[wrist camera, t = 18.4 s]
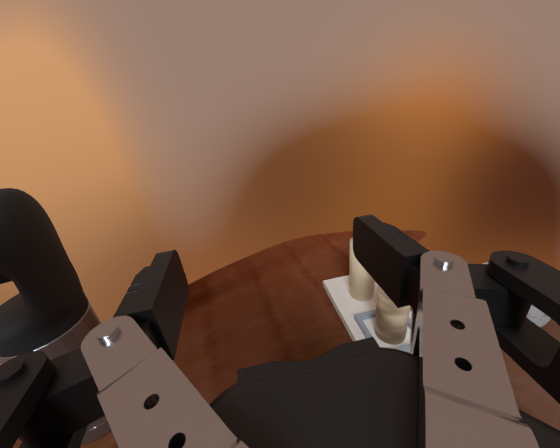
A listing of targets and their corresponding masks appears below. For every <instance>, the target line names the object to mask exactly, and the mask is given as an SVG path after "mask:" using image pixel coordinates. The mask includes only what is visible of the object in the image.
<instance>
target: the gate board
mask: <svg viewBox="0 0 560 448" xmlns="http://www.w3.org/2000/svg"><path fill="white" fill-rule="evenodd" d="M323 287H324V288H325V290H326V292H327V294H328V296H329V298H330V300H331V302H332V303H333V305H334V307H335V309H336V311H337V313H338V315H339V316H340V318H341V320H342V322H343V324H344V326H345V328H346V330H347V331H348V333H349V335H350V337H351V339H352V341H357V340H361V339H365V338H369V337H374V339H375V340H376V342H377V343H378V345H379V346H380V347H385V348H393V349H398V350H402V351H405V352H408V353H409V351H410V331H411V314H412V312H411V311H410V313H409V320H408V326H407V332H406V338H405V341H404V342H403V343H401V344H398V345H390V344H387V343H384V342H383V341H381V340H380V339H379V338H378V337H377V336H376V334H375V330H374V329H375V317H376V304H377V292H378V284H377V283H376V282H375V281H374V279H373V278H372V277H371V276H370V275H369V274H368V272H367V271H366V270H365V269H364V268H363V266H362V265H361V264H360V263H359V262H358V261H357V259H356V258H355V255H354V252H353V238H351V239H350V265H349V275H347V276H343V277H338V278H333V279H329V280H324V281H323Z"/></svg>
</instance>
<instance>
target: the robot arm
mask: <svg viewBox="0 0 560 448" xmlns="http://www.w3.org/2000/svg"><path fill="white" fill-rule="evenodd" d="M353 252H354V255H355V258H356V259H357V261H358V262H359V263H360V264H361V265H362V266H363V268H364V269H365V270H366V271H367V272H368V274H369V275H370V276H371V277H372V278H373V279H374V281H375V282H376V283H377V284H378V285H379V286H380V288H381V289H382V290H383V291H384V292H385V294H386V295H387V296H388V297H389V298H390V299H391V301H392V302H393V303H394V304H395V305H396V307H397V308H401V307H405V306H409V305H410V306H411V307H412V314H411V331H410V351H409V353H408V352H405V351H402V350H398V349H393V348H385V347H380V346H379V345H378V343H377V342H376V340H375V339H374V337H369V338H365V339H361V340H357V341H353V342H349V343H345V344H341V345H339V346H338V347H336V348H334V349H332V350H330V351H328V352H327V353H325V354H323V355H321V356H319V357H318V358H316V359H314V360H311V361H272V362H268V363H264V364H260V365H256V366H252V367H248V368H244V369H240V370H238V383H236V384H235V385H233V386H231V387H230V388H228V389H227V390H225V391H224V392H223V393H222V394H220V395H219V396H218V397H217V398H216V399H215V400H214V401H213V402H212V403H211V404H210V405H209V404H208V403H207V402H206V401H205V399H204V398H203V397H202V396H201V395H200V393H199V392H198V391H197V390H196V389H195V387H194V386H193V385H192V384H191V383H190V381H189V380H188V379H187V378H186V376H185V375H184V374H183V373H182V372H181V370H180V369H179V368H178V367H177V366H176V364H175V363H174V362H173V361H172V360H174V358H175V353H176V348H177V343H178V339H179V334H180V329H181V324H182V320H183V315H184V310H185V305H186V301H187V296H188V283H187V279H186V276H185V273H184V270H183V267H182V264H181V261H180V258H179V255H178V253H177V251H176V250H172V251H167V252H162V253H157V254H156V255H155V257H154V259H153V261H152V263H151V266H149V267H145V268H144V269H143V270H142V271H140V273H138V274H137V275H136V276H135V278H134V280H133V282H132V283H131V286H130V287H129V289H128V291H127V294H125V296H124V298H123V300H122V302H121V304H120V306H119V307H118V309H117V311H116V313H115V315H114V317H113V318H111V319H109V320H106V321H104V322H102V323H101V322H100V320H99V318H98V317H97V315H96V313H95V312H94V310H93V308H92V307H91V305H90V303H89V301H88V299H87V298H86V296H85V294H84V292H83V289H82V286H81V284H80V281H79V278H78V275H77V273H76V271H75V269H74V267H73V265H72V263H71V262H70V260H69V258H68V256H67V254H66V251H65V250H64V248H63V245H62V243H61V241H60V239H59V237H58V235H57V232H56V230H55V228H54V226H53V224H52V222H51V220H50V218H49V217H48V215H47V213H46V212H45V210H44V209H43V208H42V206H41V205H40V204H39V203H38V202H37V201H36V200H35V199H34V198H33V197H32V196H30V195H29V194H27V193H25V192H24V191H21V190H18V189H12V188H5V189H0V284H2V283H6V282H9V281H13V282H14V284H15V285H16V287H17V288H18V290H19V292H20V293H19V294H18V295H16V296H14V297H13V298H11V299H9V300H8V301H6V302H5V303H3V304H2V305H1V306H0V364H1V365H0V448H12V447H13V446H14V444H15V442H16V440H17V439H18V438H19V439H20V440H21V441H22V443H21V445H20V447H19V448H80V445H81V443H86V442H90V441H93V440H95V439H97V438H99V437H101V436H103V435H104V434H106V433H107V432H109V431H110V430H112V432H113V435H114V437H115V439H116V442H117V444H118V446H119V448H560V431H559V430H557V429H555V428H553V427H551V426H549V425H547V424H546V423H544V422H542V421H540V420H538V419H536V418H534V417H532V416H530V415H529V414H527V413H525V412H523V411H521V410H519V409H518V407H517V404H516V401H515V397H514V394H513V390H512V387H511V384H510V380H509V377H508V373H507V370H506V366H505V363H504V360H503V356H502V353H501V349H502V350H503V351H504V352H506V353H507V354H508V355H509V356H510V357H511V358H512V359H513V360H514V361H515V362H516V363H517V364H518V365H519V366H520V367H521V368H522V369H523V370H524V371H526V372H527V373H528V374H529V375H530V376H531V377H532V378H533V379H534V380H535V381H536V382H537V383H538V384H539V385H540V386H541V387H542V388H543V389H545V390H546V391H547V392H548V393H549V394H550V395H551V396H552V397H553V398H554V399H555V400H556V401H557V402H558V403H559V404H560V342H559V341H557V340H556V339H555V338H553V337H552V336H551V335H549V334H548V333H547V332H545V331H544V330H543V329H541V328H540V327H539V326H537V325H536V324H535V323H533V322H532V321H531V320H529V319H528V318H527V314H528V312H529V310H530V307H531V305H533V306H534V307H536V308H537V309H539V310H540V311H541V312H543V313H544V314H546V315H547V316H549V317H550V318H551V319H553V320H554V321H555V322H557V323H558V325H559V326H560V271H559V270H557V269H555V268H553V267H551V266H549V265H547V264H546V263H544V262H541V261H540V260H538V259H536V258H534V257H532V256H529V255H526V254H523V253H519V252H514V251H497V252H494V253H492V254H491V256H490V259H489V262H488V264H467V263H466V262H465V261H464V260H463V259H462V258H461V257H459V256H457V255H454V254H452V253H448V252H443V251H429V250H427V249H426V248H425V247H423V246H422V245H420V244H419V243H418V242H416V241H415V240H413V239H412V238H409V236H408V235H406V234H405V233H403V232H402V231H401V230H399V229H398V228H396V227H395V226H392V225H390V224H387V223H382V222H381V221H380V220H379V219H377V218H376V217H375V216H373V215H366V216H360V217H355V218H354V221H353ZM500 348H501V349H500Z"/></svg>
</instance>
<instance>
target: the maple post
mask: <svg viewBox="0 0 560 448" xmlns="http://www.w3.org/2000/svg"><path fill="white" fill-rule="evenodd" d="M410 307H411V306H410V305H409V306H405V307H401V308H397V307H396V305H395V304H394V303H393V302H392V301H391V299H390V298H389V297H388V296H387V295H386V294H385V292H384V291H383V290H382V289H381V288H380V286H379V285H378V292H377V304H376V317H375V329H374V330H375V334H376V336H377V337H378V338H379V339H380V340H381V341H383V342H384V343H387V344H390V345H398V344H401V343H403V342H404V341H405V338H406V332H407V326H408V320H409V313H410Z"/></svg>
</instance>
